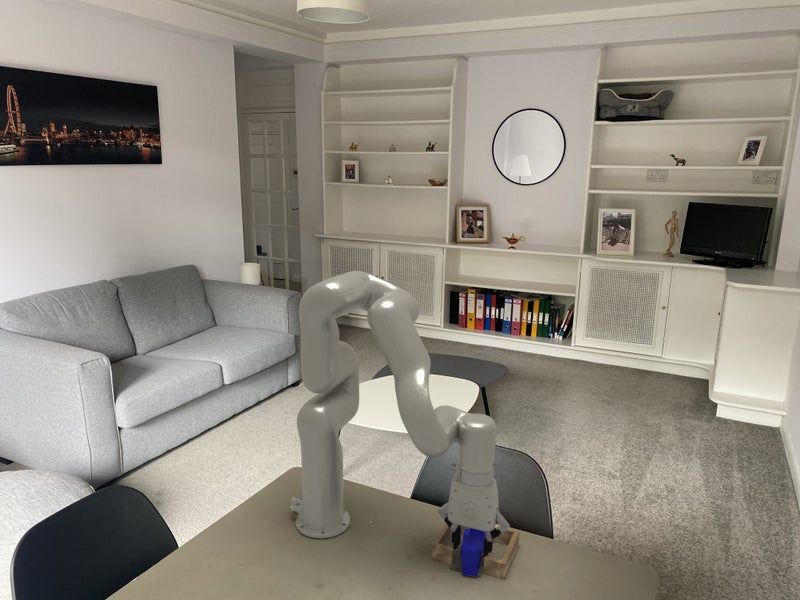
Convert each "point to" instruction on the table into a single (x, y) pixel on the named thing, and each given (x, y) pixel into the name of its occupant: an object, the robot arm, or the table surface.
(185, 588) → the table surface
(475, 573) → the blue stepped block
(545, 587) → the table surface
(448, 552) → the walled box
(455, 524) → the robot arm
